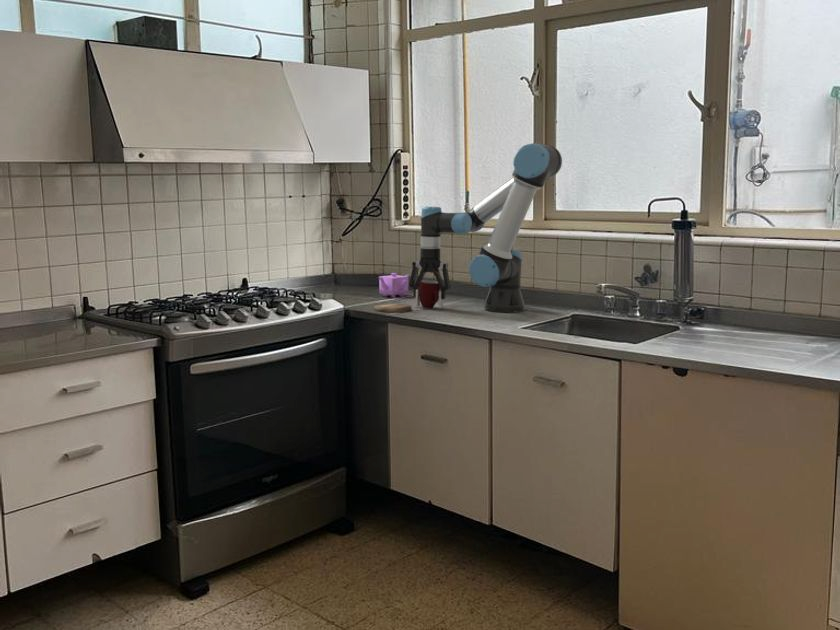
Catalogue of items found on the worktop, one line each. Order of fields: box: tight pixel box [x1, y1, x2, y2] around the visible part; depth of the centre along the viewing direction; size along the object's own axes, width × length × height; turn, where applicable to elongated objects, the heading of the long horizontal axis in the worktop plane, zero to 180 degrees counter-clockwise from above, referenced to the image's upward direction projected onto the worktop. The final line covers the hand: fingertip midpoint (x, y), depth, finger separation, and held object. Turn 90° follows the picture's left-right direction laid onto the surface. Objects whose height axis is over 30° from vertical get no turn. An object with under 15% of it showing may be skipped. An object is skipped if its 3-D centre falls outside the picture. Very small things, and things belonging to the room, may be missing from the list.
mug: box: [418, 279, 441, 309], centre depth 329 cm, size 11×8×10 cm
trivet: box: [373, 303, 412, 314], centre depth 324 cm, size 14×14×1 cm
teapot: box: [377, 272, 410, 299], centre depth 361 cm, size 18×13×10 cm
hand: (429, 306), depth 330 cm, fingers closed on mug, 9 cm apart
